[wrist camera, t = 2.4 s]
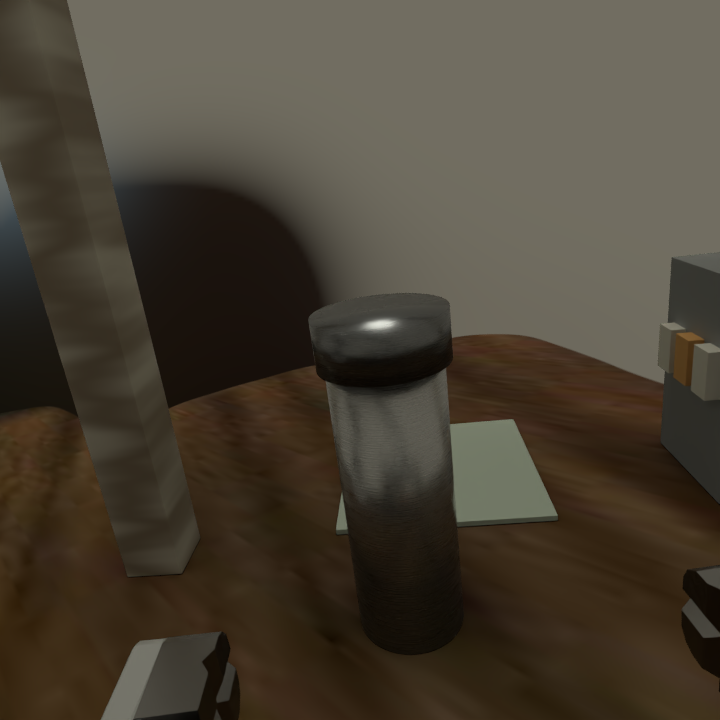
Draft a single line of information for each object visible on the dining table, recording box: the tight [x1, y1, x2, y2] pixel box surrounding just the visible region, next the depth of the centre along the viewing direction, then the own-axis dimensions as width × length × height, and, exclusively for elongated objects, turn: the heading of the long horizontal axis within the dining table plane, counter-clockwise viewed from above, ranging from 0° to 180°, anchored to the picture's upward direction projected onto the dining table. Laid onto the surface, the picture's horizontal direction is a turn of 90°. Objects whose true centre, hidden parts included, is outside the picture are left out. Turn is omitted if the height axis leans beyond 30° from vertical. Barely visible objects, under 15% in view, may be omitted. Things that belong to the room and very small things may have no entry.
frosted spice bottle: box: [308, 293, 464, 654], centre depth 23 cm, size 5×5×14 cm
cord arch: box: [0, 0, 200, 577], centre depth 24 cm, size 36×3×36 cm, turn 87°
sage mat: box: [336, 419, 558, 535], centre depth 36 cm, size 12×12×1 cm
